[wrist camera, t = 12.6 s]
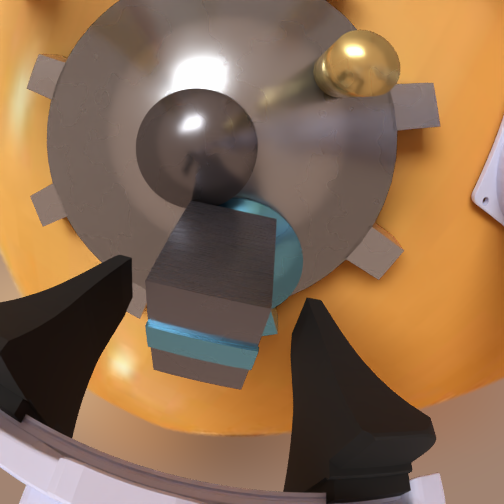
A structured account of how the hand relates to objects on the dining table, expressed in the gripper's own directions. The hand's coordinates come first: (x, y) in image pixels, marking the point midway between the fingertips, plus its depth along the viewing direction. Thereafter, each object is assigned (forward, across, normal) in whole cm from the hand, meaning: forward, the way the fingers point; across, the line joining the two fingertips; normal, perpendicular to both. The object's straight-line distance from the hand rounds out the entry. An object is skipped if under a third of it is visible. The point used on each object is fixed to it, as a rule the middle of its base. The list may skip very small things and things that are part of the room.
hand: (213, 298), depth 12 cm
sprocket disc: (+5, +2, -5) cm, 7 cm away
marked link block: (+2, 0, 0) cm, 2 cm away
